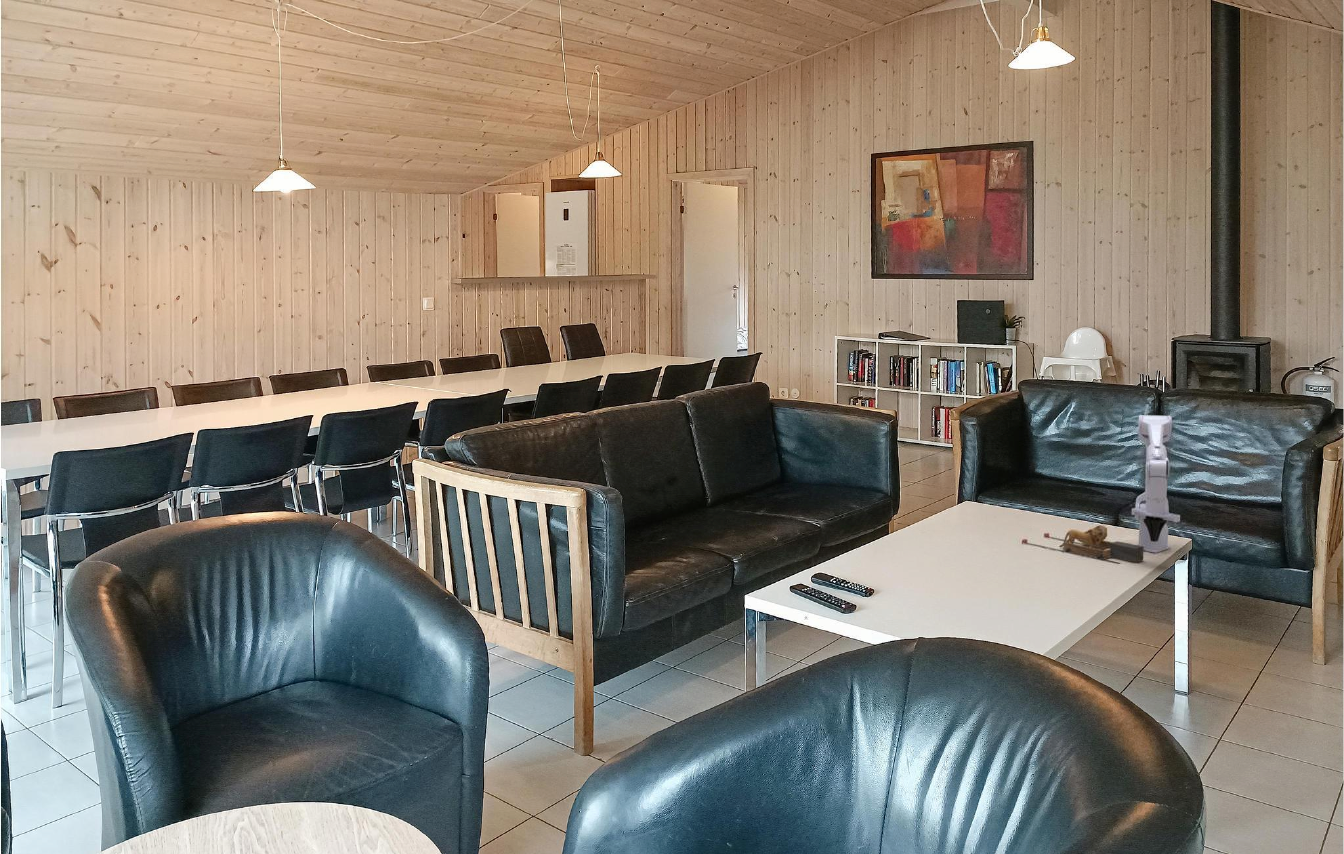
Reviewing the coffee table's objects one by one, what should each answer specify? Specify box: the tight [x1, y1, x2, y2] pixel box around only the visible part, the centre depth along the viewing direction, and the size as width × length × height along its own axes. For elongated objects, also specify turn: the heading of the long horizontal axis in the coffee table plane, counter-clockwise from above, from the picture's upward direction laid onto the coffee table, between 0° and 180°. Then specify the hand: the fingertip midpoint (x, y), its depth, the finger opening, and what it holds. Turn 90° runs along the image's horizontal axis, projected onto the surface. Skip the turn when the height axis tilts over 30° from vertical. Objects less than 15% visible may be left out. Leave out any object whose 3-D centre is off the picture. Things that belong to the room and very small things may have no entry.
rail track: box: [1021, 532, 1121, 565], centre depth 349 cm, size 14×35×1 cm, turn 37°
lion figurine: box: [1058, 524, 1108, 548], centre depth 347 cm, size 15×5×9 cm, turn 65°
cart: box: [1062, 540, 1144, 563], centre depth 342 cm, size 13×23×4 cm, turn 37°
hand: (1154, 540), depth 328 cm, fingers closed
